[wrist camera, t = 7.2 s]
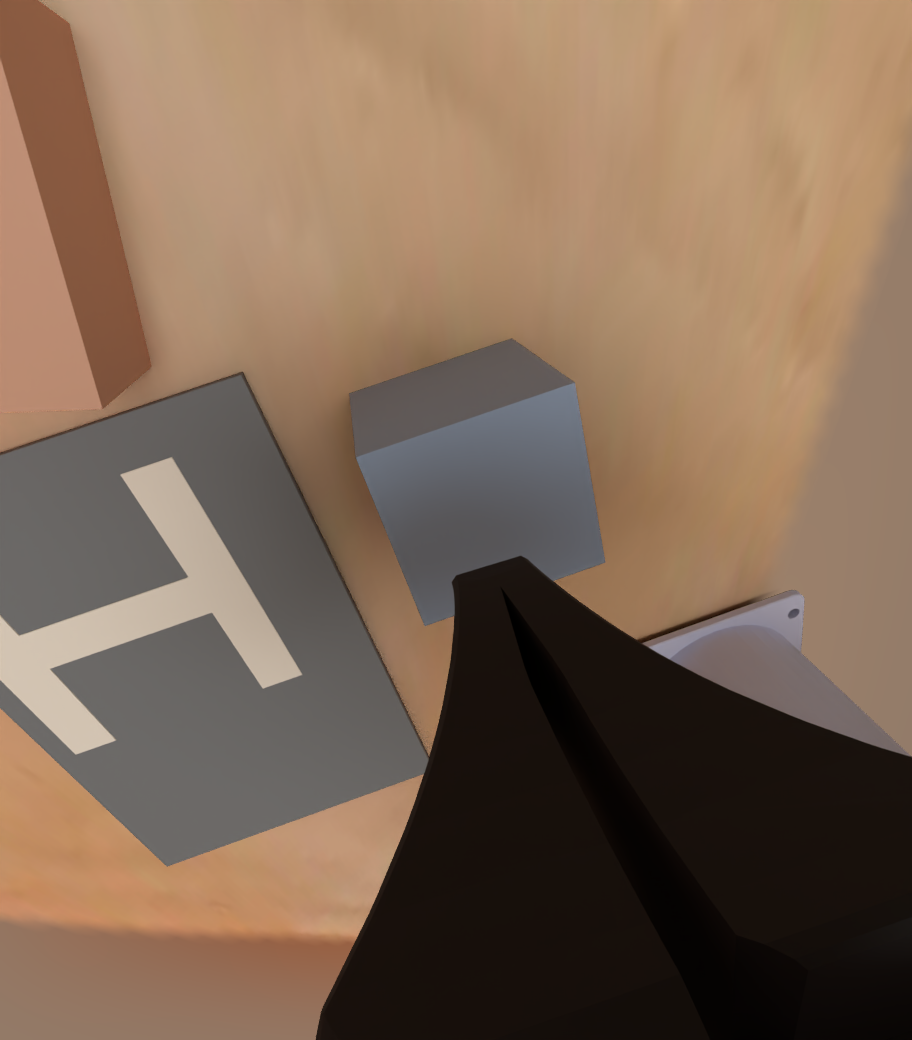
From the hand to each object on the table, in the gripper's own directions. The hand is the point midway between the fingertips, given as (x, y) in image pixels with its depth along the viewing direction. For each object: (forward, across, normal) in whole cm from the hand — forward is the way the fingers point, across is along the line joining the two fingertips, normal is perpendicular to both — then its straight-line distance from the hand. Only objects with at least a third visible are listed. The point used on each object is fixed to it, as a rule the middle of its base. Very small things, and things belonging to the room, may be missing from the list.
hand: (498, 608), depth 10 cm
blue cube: (+8, -1, 0) cm, 8 cm away
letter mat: (+8, +10, +6) cm, 14 cm away
